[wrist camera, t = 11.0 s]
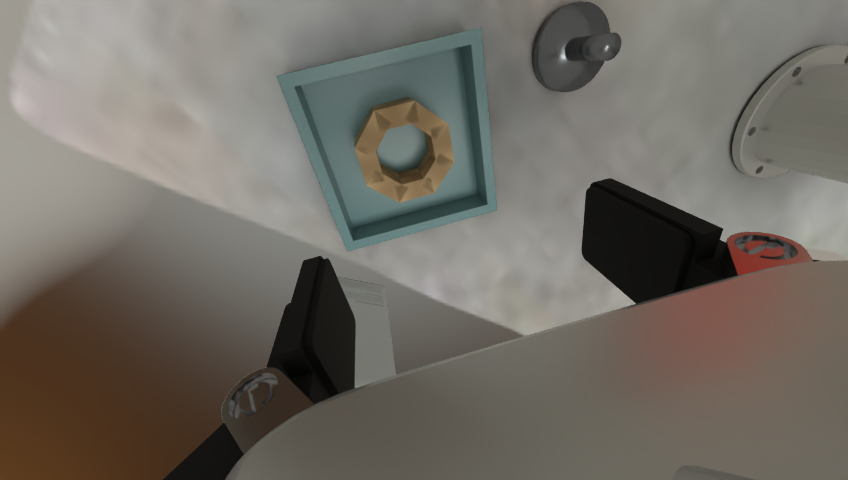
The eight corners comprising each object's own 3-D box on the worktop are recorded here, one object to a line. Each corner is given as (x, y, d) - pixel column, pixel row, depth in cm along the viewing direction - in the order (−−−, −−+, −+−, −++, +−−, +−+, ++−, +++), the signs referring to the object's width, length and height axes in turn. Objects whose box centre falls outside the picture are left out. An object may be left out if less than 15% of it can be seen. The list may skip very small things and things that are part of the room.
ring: (434, 90, 24) (443, 93, 21) (448, 175, 27) (458, 186, 25) (346, 112, 23) (344, 118, 21) (372, 196, 27) (374, 209, 25)
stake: (605, -4, 24) (659, -20, 19) (597, 81, 27) (643, 85, 22) (531, 13, 23) (570, 1, 19) (532, 98, 26) (566, 104, 22)
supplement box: (316, 270, 31) (293, 382, 20) (387, 284, 33) (401, 391, 22) (301, 325, 34) (274, 448, 23) (367, 334, 36) (371, 449, 25)
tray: (466, 32, 23) (481, 27, 20) (484, 196, 30) (497, 210, 27) (286, 74, 22) (276, 75, 19) (347, 233, 29) (347, 251, 26)
